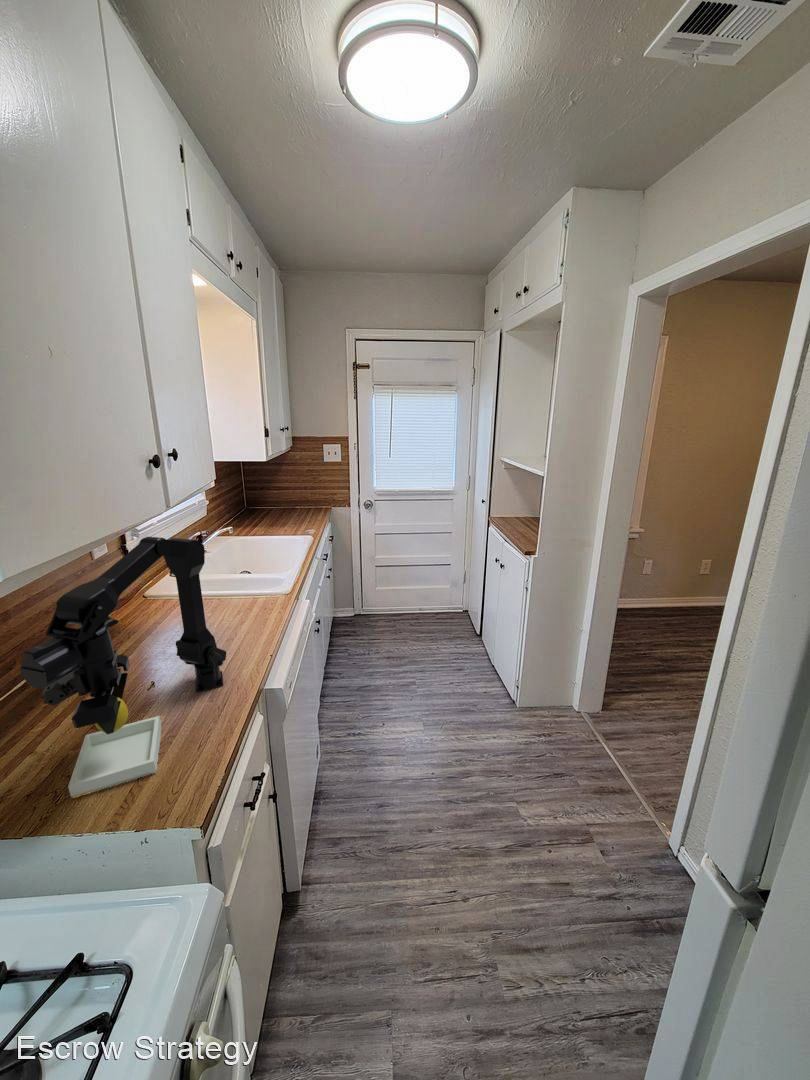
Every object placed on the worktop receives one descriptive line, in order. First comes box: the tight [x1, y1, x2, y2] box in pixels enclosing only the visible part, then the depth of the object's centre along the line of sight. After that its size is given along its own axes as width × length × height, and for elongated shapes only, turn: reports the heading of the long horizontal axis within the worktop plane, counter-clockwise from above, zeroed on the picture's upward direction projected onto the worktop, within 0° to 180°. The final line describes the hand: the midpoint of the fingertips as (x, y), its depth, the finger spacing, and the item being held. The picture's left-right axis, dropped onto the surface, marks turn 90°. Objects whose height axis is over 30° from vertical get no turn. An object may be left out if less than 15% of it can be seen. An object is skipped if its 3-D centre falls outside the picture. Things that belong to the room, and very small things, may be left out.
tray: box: [67, 715, 162, 798], centre depth 86 cm, size 14×14×3 cm
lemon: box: [94, 697, 129, 732], centre depth 83 cm, size 6×6×8 cm
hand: (113, 723), depth 84 cm, fingers closed on lemon, 5 cm apart
